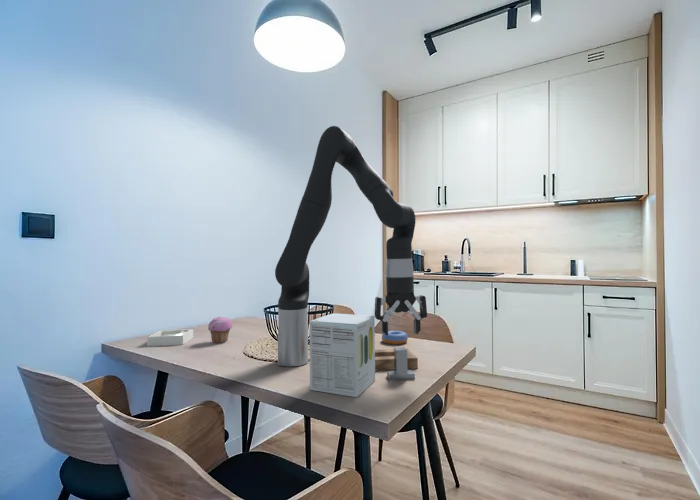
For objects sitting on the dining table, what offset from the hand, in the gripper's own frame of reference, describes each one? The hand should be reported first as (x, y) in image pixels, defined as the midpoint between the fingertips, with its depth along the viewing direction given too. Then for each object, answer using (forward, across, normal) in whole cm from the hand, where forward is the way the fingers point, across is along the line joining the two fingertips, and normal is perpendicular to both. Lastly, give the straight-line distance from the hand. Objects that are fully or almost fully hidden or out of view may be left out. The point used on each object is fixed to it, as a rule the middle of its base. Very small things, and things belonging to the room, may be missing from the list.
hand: (401, 334), depth 100 cm
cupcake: (+11, -60, +51) cm, 79 cm away
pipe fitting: (+11, -80, +55) cm, 97 cm away
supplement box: (+12, -16, -4) cm, 21 cm away
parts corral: (+11, -80, +55) cm, 98 cm away
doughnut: (+12, +8, +40) cm, 43 cm away
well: (+12, -3, +13) cm, 18 cm away
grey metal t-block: (+12, 0, 0) cm, 12 cm away
